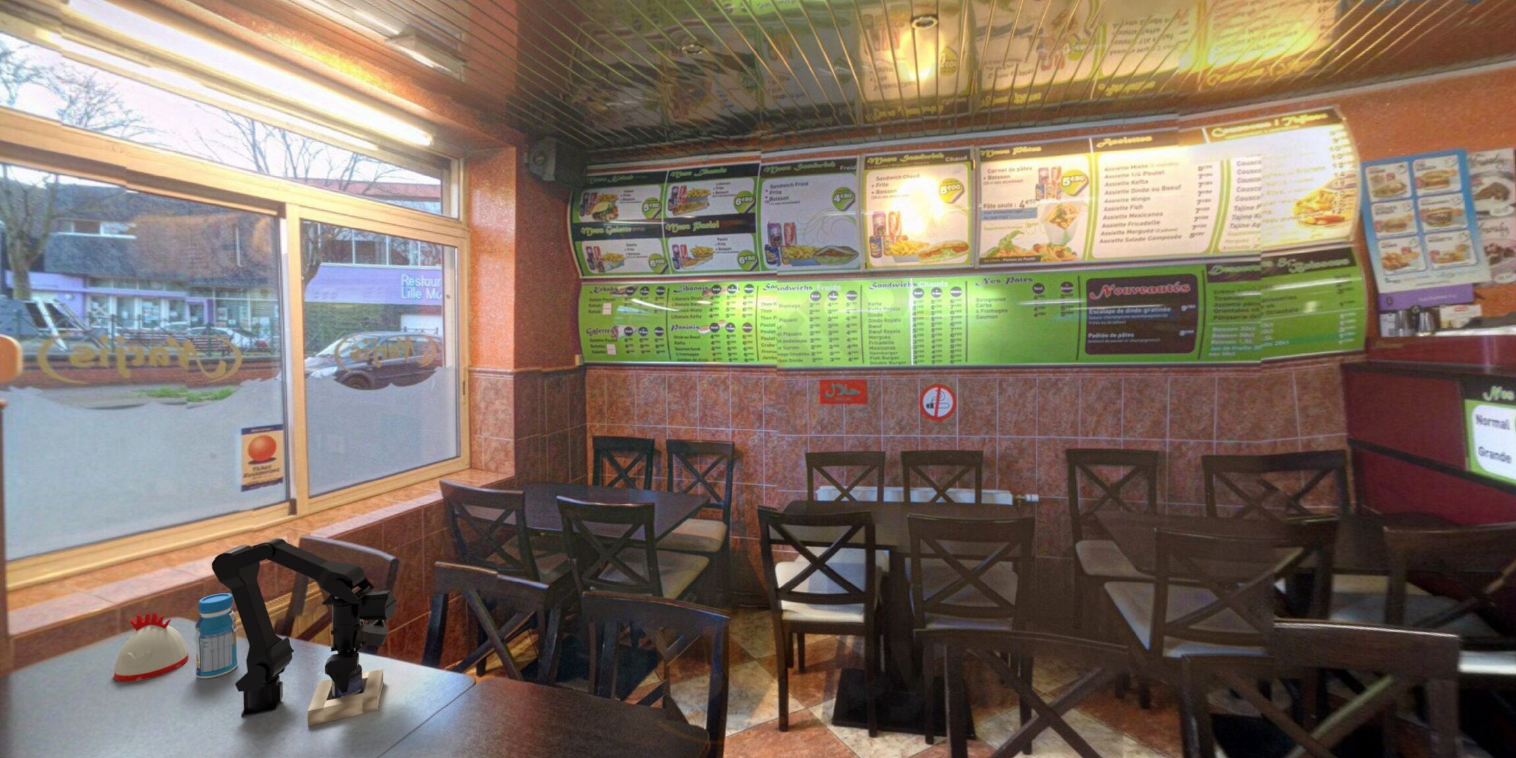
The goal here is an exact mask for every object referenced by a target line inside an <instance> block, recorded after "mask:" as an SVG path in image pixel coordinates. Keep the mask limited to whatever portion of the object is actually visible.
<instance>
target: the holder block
mask: <svg viewBox="0 0 1516 758" xmlns="http://www.w3.org/2000/svg"><path fill="white" fill-rule="evenodd" d="M383 684H384V669H383V668H382V669H377V670H371V671H366V672H362V693H361V694H356V695H351V696H346V697H342V698H337V699H332V679H331V678H330V679H326V680H321V681H320V680H319V681H318V683H317V686H316V689H315V691H314V694H313V697H312V698H311V702H310V704H309V707H308V709H307V726H308V727H310V726H314V725H320V724H323V723H326V722H327V723H328V722H332V721H336V720H340V719H345V718H349V717H354V716H358V715H362V714H367V713H372V712H377V711H379V710H378V709H379V705H380V700H381V694H382V690H383V686H384V685H383Z"/></svg>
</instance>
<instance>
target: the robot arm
mask: <svg viewBox="0 0 1516 758" xmlns="http://www.w3.org/2000/svg"><path fill="white" fill-rule="evenodd" d="M266 560H267V561H270V562H273V563H275V564H277V565H280V566H282V567H284V568H286V569H288V570H291V571H294V572H295V573H298V574H300V575H301V576H305V577H307V578H310V579H311V580H312V581H313V580H314V581H315V582H317V584H318V585H319V587H320V588H321V590H323V591H325V592H326V593H327V594H329V595H328V597H327V598H326V599H325V600H324V601H322V602H321V605H323V606H326V605H327V606H330V605H331V606H332V608H331V609H332V611H331V612H332V613H331V616H332V620H331V621H332V627H331V630H330V636H332V644H331V647H330V652H332V654H331V655H330V656H329V657H328V658H327V659H326V662H325V665H324V674H325V675H326V676H329V678H330V679H332V680H333V681H334V683H335V684H336V686H337V687H338V689H339V690H340V691H341V693H346V692H347V690H348V686H349V681H350V676H351V672H352V671H354V670H356V669H357V667H358V664H360V653H359V650H360V649H362V647H363V646H364V645H365V646H366V645H367V646H375V647H377V648H381V647H383V646H384V643H385V641H386V638H387V636H388V633H389V627H388V625H385V621H389V620H391V619H393V617H394V616H395V613H396V610H397V606H398V605H397V604H398V600H396V596H395V595H394V594H393V591H392V590H391V589H390V590H388V589H387V590H383V591H379V590H378V591H375V590H376V586H374V584H373V583H372V582H371V581H370V580H369V578H368V577H367V576H366V574H365V573H364V569H363V568H362V567H360V566H358V565H355V564H351V563H348V562H338V561H337V562H334V561H330V560H328V559H325V558H322V557H320V556H318V555H316V554H314V553H312V552H309V551H307V550H305V549H302V548H300V547H298V546H295V545H293V544H291V543H289V542H287V541H286V540H285V539H284V538H279V537H276V538H274V539H271V540H269V541H265V542H260V543H258V544H253V545H249V544H241V545H239V546H238V545H237V546H236V547H234V548H232V549H230V550H227V551H225V552H224V551H223V552H222V553H219V554H218V555H217V556H215V558H214V559H213V561H212V562H211V570H212V572H213V574H214V576H215V577H216V578H217V580H218V582H219V583H220V584H222V585H223V586H225V587H226V588H228V589H229V590H230V592H231V594H232V596H233V602H234V604H235V607H236V610H237V613H238V616H239V618H240V622H241V624H242V629H243V630H244V634H245V636H246V639H247V642H248V645H249V647H248V651H247V656H246V659H245V660H246V661H245V663H246V669H247V672H245V674H244V675H243V676H242V677H240V678H239V679H238V680H237V681H236V682H235V684H234V685H235V687H236V689H237V691H238V692H241V693H242V692H243V693H242V694H243V697H242V698H243V710H242V712H241V714H240V716H241V717H246V716H251V715H255V714H261V713H262V714H263V713H266V712H270V711H274V710H276V709H277V707H278V706H279V704H281V702H282V700H283V698H284V689H283V688H284V686H283V685H284V684H283V683H284V682H283V681H282V680H280V679H281V674H282V673H284V672H285V670H286V667H288V665H290V663H291V661H292V660H293V653H294V652H295V650H294V649H293V648H292V645H291V639H290V638H289V637H288V636H287V637H284V638H281V637H280V636H278V635H277V634H276V633H275V630H274V626H273V624H272V620H271V617H270V614H269V612H268V609H267V605H266V603H265V600H264V596H263V594H262V593H263V592H262V591H261V587H260V585H259V582H258V575H259V572H260V567H261V563H260V562H262V561H266ZM358 588H359V590H357V591H356V592H354V591H355V590H356V589H358ZM364 621H374V622H373V623H372V622H371V623H369V624H365V622H364ZM333 652H337V653H334V654H333Z"/></svg>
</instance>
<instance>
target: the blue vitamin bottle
mask: <svg viewBox="0 0 1516 758" xmlns="http://www.w3.org/2000/svg"><path fill="white" fill-rule="evenodd" d="M233 605H234V598H233V595H232V593H229V592H228V593H227V592H225V593H224V592H223V593H222V592H221V593H216V594H211V595H208V596H205V597H202V598H201V599H199V601H198V614H199V615H200V617H199V618H198V619H197V621H196V623H195V627H194V629H195V631H196V632H195V634H194V641H195V650H196V653H195V654H196V657H195V658H196V668H195V676H196V677H197V678H199V679H211V678H218V677H221V676H224V675H226V674H229V673H230V672H232V671H234V670H235V669H237V666H238V656H237V655H238V654H237V653H238V652H237V651H238V650H237V649H238V648H237V646H238V645H237V635H238V634H237V632H238V624H237V623H236V622H237V620H238V619H237V615H236V613H235V612H234V611H233V609H232V608H233Z"/></svg>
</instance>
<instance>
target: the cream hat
mask: <svg viewBox="0 0 1516 758" xmlns="http://www.w3.org/2000/svg"><path fill="white" fill-rule="evenodd" d="M164 618H165V615H162V616H160V617H159V618H158V614H157V612H156V611H155V612H154V613H152V616H151V614H150V612H148V613H146V614H145V616H144V618H143V616H142V614H140V613H139V614H138V615H136V620H135V619H131V620H130V624H131V626H132V627H133V628H134V629H135V632H134V633H133V634H132V635H130V636H129V638H128V639H127V641H125V643H124V644H123V646H122V647H121V649H120V651H119V653H118V656H117V659H116V661H115V664H114V670H113V671H114V673H113V675H114V680H116V681H118V682H126V683H129V682H137V681H142V680H143V681H144V680H147V679H151V678H155V677H159V676H161V675H164V674H167V673H170V672H173V671H174V670H177V669H179V668H180V667H182V666H183V665H185V664H186V663H187V662H188V661H189V650H188V646H187V645H186V642H185V640H184V639H183V637H182V635H181V633H180V632H179V631H177V630H176V629H175V628H174V627H172V626H170V625H169V624H170V622H171V618H169V619H168V620H167V621H166V622H165V623H164V622H163V621H164Z"/></svg>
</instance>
